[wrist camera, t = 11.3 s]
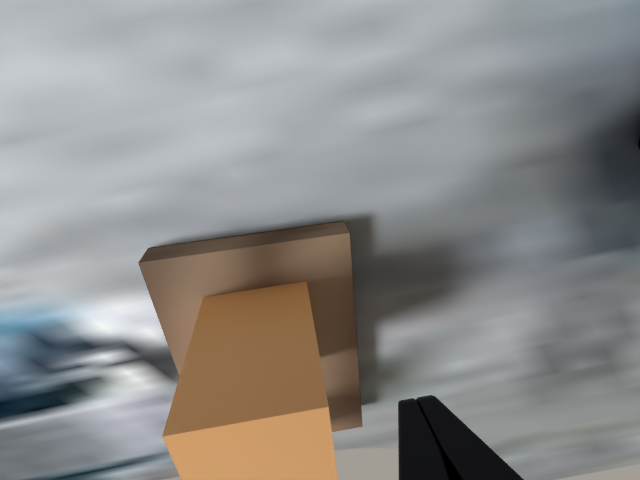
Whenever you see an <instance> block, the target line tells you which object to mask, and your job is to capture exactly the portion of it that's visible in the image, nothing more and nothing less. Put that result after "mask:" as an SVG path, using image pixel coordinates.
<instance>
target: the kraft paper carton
mask: <svg viewBox="0 0 640 480" xmlns="http://www.w3.org/2000/svg"><path fill="white" fill-rule="evenodd" d="M162 437H163V439H164V441H165V444H166V446H167V448H168V451H169V453H170V455H171V457H172V460H173V462H174V464H175V466H176V469H177V471H178V473H179V476H180V478H181V480H338V477H337V469H336V462H335V453H334V445H333V437H332V430H331V422H330V414H329V406H328V401H327V395H326V389H325V384H324V378H323V372H322V366H321V361H320V355H319V349H318V344H317V338H316V332H315V327H314V321H313V315H312V310H311V304H310V298H309V292H308V287H307V281H306V282H299V283H293V284H286V285H280V286H273V287H266V288H260V289H253V290H247V291H240V292H234V293H227V294H221V295H214V296H208V297H203V299H202V303H201V306H200V310H199V313H198V317H197V320H196V323H195V327H194V330H193V334H192V337H191V340H190V344H189V347H188V351H187V354H186V358H185V361H184V364H183V368H182V371H181V375H180V378H179V381H178V385H177V388H176V392H175V395H174V399H173V402H172V405H171V409H170V412H169V416H168V419H167V422H166V426H165V429H164V433H163V436H162Z"/></svg>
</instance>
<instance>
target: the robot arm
mask: <svg viewBox="0 0 640 480" xmlns="http://www.w3.org/2000/svg"><path fill="white" fill-rule="evenodd" d="M638 146H639V149H640V139H639V143H638ZM398 425H399V480H524V479H522V478H521V477H520V476H519V475H518V474H517V473H516V472H515V471H514V470H513V469H512V468H511V467H510V466H509V465H508V464H507V463H505V462H504V461H503V460H502V459H501V458H500V457H499V456H498V455H497V454H496V453H495V452H494V451H493V450H492V449H491V448H489V447H488V446H487V445H486V444H485V443H484V442H483V441H482V440H481V439H480V438H479V437H478V436H477V435H476V434H475V433H473V432H472V431H471V430H470V429H469V428H468V427H467V426H466V425H465V424H464V423H463V422H462V421H461V420H460V419H459V418H457V417H456V416H455V415H454V414H453V413H452V412H451V411H450V410H449V409H448V408H447V407H446V406H445V405H444V404H443V403H442V402H440V401H439V400H438V399H437V398H436V397H435V396H432V395H429V396H423V397H418V398H417V399H416V400H415V399H413V398H412V399H406V400H401V401H399V403H398Z"/></svg>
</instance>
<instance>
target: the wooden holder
mask: <svg viewBox="0 0 640 480" xmlns="http://www.w3.org/2000/svg"><path fill="white" fill-rule="evenodd" d="M139 266H140V269H141V272H142V274H143V277H144V280H145V283H146V285H147V288H148V291H149V294H150V296H151V299H152V302H153V305H154V307H155V310H156V313H157V316H158V318H159V321H160V324H161V327H162V329H163V332H164V335H165V338H166V340H167V343H168V346H169V349H170V351H171V354H172V357H173V360H174V362H175V365H176V368H177V371H178V373H179V376H180V375H181V371H182V368H183V364H184V361H185V358H186V354H187V351H188V347H189V344H190V340H191V337H192V334H193V330H194V327H195V323H196V320H197V317H198V313H199V310H200V306H201V303H202V299H203V297H208V296H214V295H221V294H227V293H234V292H240V291H247V290H253V289H260V288H266V287H273V286H280V285H286V284H293V283H299V282H306V281H307V287H308V292H309V298H310V304H311V310H312V315H313V321H314V327H315V332H316V338H317V344H318V349H319V355H320V361H321V366H322V372H323V378H324V384H325V389H326V395H327V401H328V406H329V414H330V422H331V430H332V432H335V431H340V430H346V429H351V428H357V427H362V412H361V397H360V382H359V367H358V351H357V336H356V321H355V306H354V290H353V275H352V260H351V245H350V232H349V230H348V228H347V226H346V224H345V222H344V221H342V222H335V223H328V224H321V225H314V226H306V227H299V228H292V229H285V230H278V231H270V232H263V233H256V234H249V235H242V236H234V237H227V238H220V239H213V240H206V241H198V242H191V243H184V244H177V245H170V246H162V247H155V248H148V249H147V251H146V252H145V254H144V255H143V257H142V258H141V260H140V261H139Z"/></svg>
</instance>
